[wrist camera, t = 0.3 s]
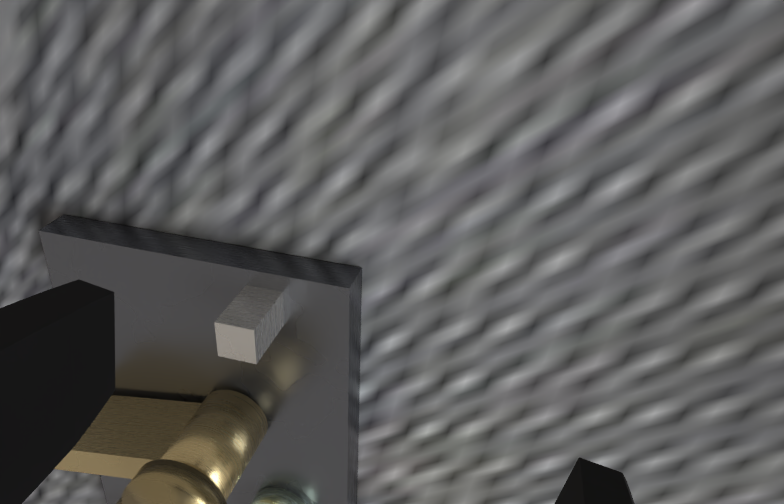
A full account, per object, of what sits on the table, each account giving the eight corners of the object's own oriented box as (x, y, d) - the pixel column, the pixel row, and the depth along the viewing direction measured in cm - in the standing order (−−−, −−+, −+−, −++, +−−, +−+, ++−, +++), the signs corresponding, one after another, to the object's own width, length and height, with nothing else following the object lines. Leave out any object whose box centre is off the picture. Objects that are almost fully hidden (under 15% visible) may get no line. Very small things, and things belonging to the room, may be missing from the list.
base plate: (354, 589, 29) (329, 664, 26) (135, 528, 31) (90, 591, 28) (361, 268, 21) (325, 327, 18) (63, 214, 23) (-9, 261, 20)
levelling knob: (265, 385, 22) (199, 486, 19) (283, 453, 24) (226, 559, 20) (81, 371, 24) (-10, 459, 21) (108, 434, 26) (27, 527, 22)
